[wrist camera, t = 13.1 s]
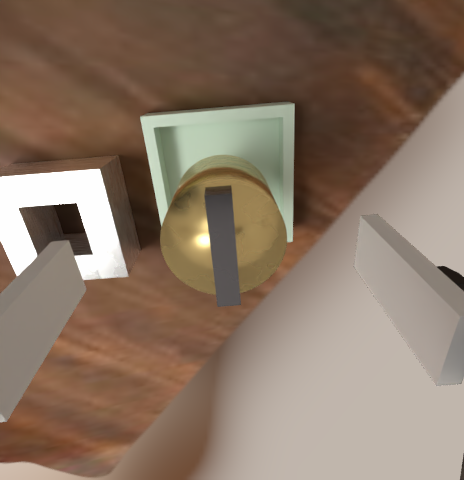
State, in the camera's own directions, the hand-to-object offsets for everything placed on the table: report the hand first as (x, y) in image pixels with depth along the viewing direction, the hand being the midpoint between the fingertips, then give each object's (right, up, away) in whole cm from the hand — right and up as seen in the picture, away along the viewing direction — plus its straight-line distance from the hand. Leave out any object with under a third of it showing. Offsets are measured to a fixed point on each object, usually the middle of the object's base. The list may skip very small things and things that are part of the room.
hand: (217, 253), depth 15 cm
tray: (0, +6, +13) cm, 14 cm away
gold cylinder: (0, +6, +12) cm, 14 cm away
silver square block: (-13, +3, +14) cm, 19 cm away
